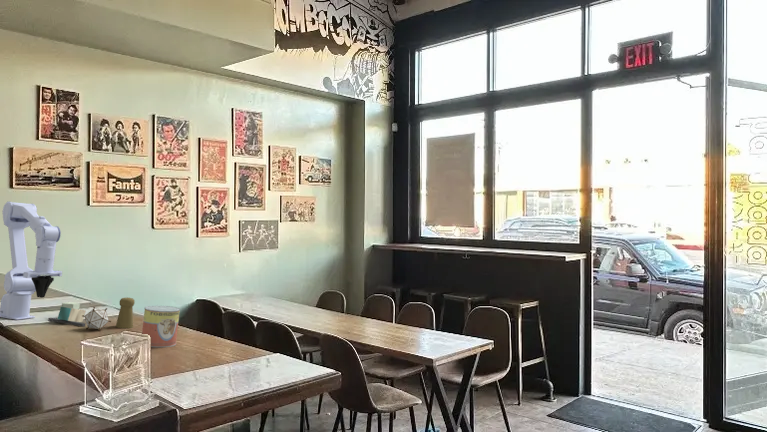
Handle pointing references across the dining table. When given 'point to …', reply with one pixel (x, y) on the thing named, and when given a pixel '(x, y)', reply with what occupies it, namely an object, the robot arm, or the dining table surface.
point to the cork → (125, 313)
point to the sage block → (71, 305)
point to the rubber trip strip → (66, 322)
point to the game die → (96, 318)
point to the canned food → (161, 325)
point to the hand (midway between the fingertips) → (40, 297)
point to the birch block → (71, 314)
